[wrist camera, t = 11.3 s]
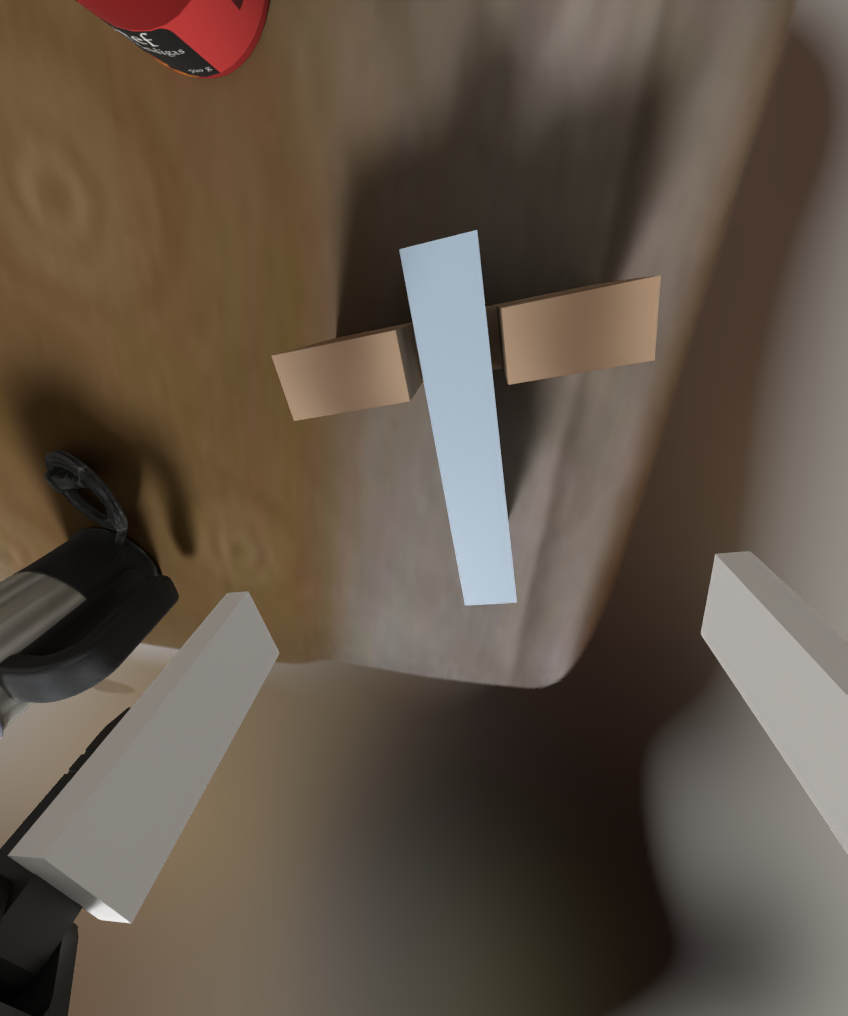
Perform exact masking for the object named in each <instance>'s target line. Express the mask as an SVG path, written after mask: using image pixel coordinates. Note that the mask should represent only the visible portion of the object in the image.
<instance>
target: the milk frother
mask: <svg viewBox="0 0 848 1016" xmlns="http://www.w3.org/2000/svg"><path fill="white" fill-rule="evenodd" d="M45 462H46V468H47V470H48V472H46V473H45V474H44V478H45V480H46V481H47V482H48V483H49V484H50V486H51V487H52V488H53V489H54V490H55V491H56V492H58V493H62V494H63V495H64V496H65V498H66V499H67V500H68V501H69V502H70V503H71V504H72V505H73V506H74V507H75V508H76V509H78V510H79V511H80V512H82V513H83V514H84V515H85V516H86V517H88V518H90V519H91V520H92V521H94V522H96V523H97V524H99V525H101V526H103V527H105V528H107V529H110V530H115V531H117V533H115V532H113V531H109V530H106V529H99V528H88V529H83V530H80V531H78V532H76V533H74V534H73V535H72V536H71V537H70V539H69V540H68V541H67V542H65V543H64V544H62V545H61V546H59V547H57V548H56V549H54V550H53V551H51V552H50V553H48V554H46V555H45V556H43V557H42V558H40V559H38V560H37V561H35V562H34V563H32V564H30V565H29V566H27V567H26V568H24V569H22V570H20V571H19V572H17V573H15V574H13V575H12V576H10V577H9V578H7V579H5V580H3V581H2V582H0V739H1V738H2V736H3V730H4V729H5V728H6V727H7V726H8V725H10V724H11V723H12V722H13V721H14V720H15V719H16V718H18V717H19V716H20V715H21V714H22V713H23V712H24V711H25V710H26V709H27V708H29V707H30V706H31V705H32V704H33V703H48V702H54V701H59V700H62V699H66V698H69V697H72V696H75V695H77V694H79V693H82V692H83V691H85V690H87V689H89V688H91V687H93V686H95V685H96V684H98V683H99V682H101V681H102V680H104V679H105V678H106V677H108V676H109V675H110V674H111V673H112V672H114V671H115V670H116V669H117V668H118V667H119V666H120V665H121V664H122V662H123V661H124V660H125V659H126V658H127V657H128V656H129V655H130V654H131V652H132V651H133V650H134V649H135V648H136V647H137V646H138V645H139V644H140V643H141V642H142V640H143V639H144V638H145V637H146V636H147V635H148V634H149V633H150V632H151V631H152V629H153V628H154V627H155V626H156V625H157V624H158V622H159V621H160V620H161V619H162V618H163V617H164V616H165V615H166V613H167V612H168V611H169V610H170V609H171V608H172V607H173V605H174V604H175V603H176V602H177V601H178V598H179V595H178V592H177V590H176V588H175V586H174V584H173V582H172V580H171V579H170V578H169V577H168V576H163V575H159V573H158V570H157V568H156V566H155V564H154V563H153V561H152V560H151V558H150V557H149V556H148V555H147V554H146V553H145V552H144V551H143V550H142V549H141V548H140V547H139V546H137V545H136V544H135V543H134V542H132V541H131V540H129V539H128V538H126V535H127V529H128V522H127V518H126V516H125V513H124V511H123V509H122V506H121V505H120V503H119V501H118V500H117V498H116V497H115V495H114V494H113V493H112V491H111V490H110V489H109V488H108V487H107V486H106V484H105V483H104V482H103V481H102V480H101V479H100V478H99V477H98V475H97V474H96V473H95V472H94V471H93V470H91V469H90V468H89V467H88V466H87V465H86V464H85V463H83V462H82V461H81V460H80V459H78V458H77V457H75V456H74V455H72V454H70V453H68V452H66V451H64V450H55V451H53V452H49V453H48V454H47V455H46V458H45ZM87 487H89V488H90V489H91V490H92V491H93V493H94V494H95V495H96V496H97V498H99V500H100V501H101V502H102V503H103V504H104V506H105V507H106V512H107V514H108V516H107V515H105V514H103V513H102V512H100V511H98V510H97V509H95V508H94V507H93V506H92V505H90V504H89V503H88V502H87V501H85V500H84V499H83V498H82V497H81V496H80V495H79V494H78V493H77V492H76V490H75V489H80V488H87Z"/></svg>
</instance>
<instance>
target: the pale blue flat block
mask: <svg viewBox="0 0 848 1016" xmlns="http://www.w3.org/2000/svg"><path fill="white" fill-rule="evenodd" d="M399 251H400V256H401V262H402V267H403V273H404V278H405V283H406V289H407V294H408V300H409V305H410V310H411V316H412V321H413V327H414V332H415V337H416V343H417V348H418V354H419V359H420V364H421V370H422V375H423V381H424V386H425V392H426V397H427V402H428V408H429V413H430V419H431V424H432V429H433V435H434V440H435V446H436V451H437V456H438V462H439V467H440V473H441V478H442V483H443V489H444V494H445V500H446V505H447V510H448V516H449V521H450V527H451V532H452V537H453V543H454V548H455V554H456V559H457V564H458V570H459V575H460V581H461V586H462V592H463V597H464V602H465V606H466V605H482V604H499V603H515V602H517V599H516V590H515V581H514V571H513V562H512V552H511V543H510V534H509V524H508V515H507V506H506V496H505V487H504V477H503V468H502V459H501V449H500V440H499V430H498V421H497V412H496V402H495V393H494V383H493V374H492V365H491V355H490V346H489V336H488V327H487V318H486V308H485V299H484V289H483V280H482V271H481V261H480V252H479V243H478V233H477V230H474V231H470V232H466V233H462V234H458V235H454V236H450V237H446V238H442V239H438V240H434V241H430V242H426V243H422V244H418V245H414V246H410V247H406V248H402V249H399Z"/></svg>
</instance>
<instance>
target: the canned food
mask: <svg viewBox="0 0 848 1016" xmlns="http://www.w3.org/2000/svg"><path fill="white" fill-rule="evenodd" d="M76 1H77V2H78V3H80V4H81V5H83V6H84V7H85V8H87V9H88V10H89V11H91V12H92V13H93V14H95V15H96V16H98V17H99V18H100V19H102V20H103V21H104V22H106V23H107V24H108V25H110V26H111V27H112V28H114V29H115V30H117V31H118V32H119V33H121V34H122V35H123V36H125V37H126V38H127V39H129V40H130V41H132V42H133V43H134V44H136V45H137V46H138V47H140V48H141V49H142V50H144V51H145V52H147V53H148V54H149V55H151V56H152V57H153V58H155V59H156V60H157V61H159V62H160V63H162V64H163V65H165V66H166V67H168V68H170V69H172V70H174V71H175V72H177V73H180V74H184V75H187V76H191V77H196V78H218V77H222V76H225V75H228V74H230V73H231V72H233V71H234V70H236V69H237V68H239V67H240V66H241V65H242V64H243V63H244V62H245V61H246V60H247V59H248V57H249V56H250V55H251V53H252V52H253V50H254V48H255V46H256V45H257V43H258V41H259V39H260V36H261V33H262V30H263V28H264V25H265V21H266V16H267V11H268V6H269V0H76Z"/></svg>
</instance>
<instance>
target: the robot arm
mask: <svg viewBox="0 0 848 1016" xmlns="http://www.w3.org/2000/svg"><path fill="white" fill-rule="evenodd" d="M701 635H702V637H703V638H704V640H705V641H706V643H707V644H708V646H709V647H710V649H711V650H712V652H713V653H714V655H715V656H716V658H717V659H718V661H719V662H720V664H721V665H722V667H723V668H724V670H725V671H726V672H727V674H728V676H729V677H730V679H731V680H732V681H733V683H734V685H735V686H736V687H737V689H738V690H739V692H740V693H741V695H742V697H743V698H744V700H745V701H746V703H747V704H748V706H749V707H750V709H751V710H752V712H753V713H754V715H755V716H756V718H757V719H758V721H759V722H760V724H761V725H762V727H763V728H764V730H765V731H766V733H767V734H768V736H769V737H770V739H771V740H772V742H773V743H774V745H775V746H776V748H777V749H778V751H779V752H780V754H781V755H782V757H783V758H784V760H785V761H786V763H787V764H788V766H789V767H790V768H791V770H792V772H793V773H794V775H795V776H796V778H797V779H798V781H799V782H800V784H801V785H802V786H803V788H804V790H805V791H806V793H807V794H808V796H809V797H810V798H811V800H812V801H813V803H814V805H815V806H816V807H817V809H818V810H819V812H820V813H821V815H822V817H823V818H824V819H825V821H826V823H827V824H828V826H829V827H830V829H831V830H832V832H833V833H834V834H835V836H836V837H837V839H838V841H839V842H840V844H841V845H842V847H843V848H844V850H845V851H846V853H847V854H848V641H846V640H845V639H844V638H843V637H842V636H841V635H840V634H839V633H838V632H837V631H836V630H835V629H834V628H832V627H831V626H830V625H829V624H828V623H827V622H826V621H825V620H824V619H823V618H822V617H820V615H818V614H817V613H816V612H815V611H814V610H813V609H812V608H811V607H810V606H809V605H808V604H807V603H806V602H804V601H803V600H802V599H801V598H800V597H799V596H798V595H797V594H796V593H795V592H794V591H793V590H791V589H790V588H789V587H788V586H787V585H786V584H785V583H784V582H783V581H782V580H781V579H780V578H778V577H777V576H776V575H775V574H774V573H773V572H772V571H771V570H770V569H769V568H768V567H767V566H766V565H764V564H763V563H762V562H761V561H760V560H759V559H758V558H757V557H756V556H755V555H754V554H753V553H751V552H750V551H748V552H736V553H735V552H734V553H722V554H716V555H715V559H714V564H713V570H712V575H711V581H710V586H709V592H708V598H707V603H706V608H705V613H704V619H703V625H702V630H701ZM278 655H279V651H278V649H277V647H276V645H275V643H274V641H273V639H272V637H271V635H270V633H269V631H268V629H267V627H266V625H265V623H264V621H263V619H262V617H261V615H260V614H259V612H258V610H257V608H256V606H255V604H254V602H253V600H252V598H251V596H250V594H249V592H235V593H227V594H226V595H225V596H224V597H223V598H222V600H221V601H220V602H219V603H218V604H217V606H216V607H215V608H214V609H213V610H212V612H211V613H210V614H209V615H208V616H207V618H206V619H205V620H204V621H203V622H202V624H201V625H200V626H199V627H198V628H197V629H196V631H195V632H194V633H193V634H192V635H191V637H190V638H189V639H188V640H187V641H186V643H185V644H184V645H183V646H182V647H181V649H180V650H179V651H178V652H177V654H176V655H175V656H174V657H173V658H172V659H171V661H170V662H169V663H168V664H167V665H166V667H165V668H164V669H163V670H162V671H161V673H160V674H159V675H158V676H157V678H156V679H155V680H154V681H153V683H151V685H150V686H149V687H148V688H147V689H146V691H145V692H144V693H143V694H142V695H141V697H140V698H139V699H138V700H137V701H136V702H135V704H134V705H133V706H132V707H131V708H127V709H126V710H125V711H124V712H122V713H121V714H120V715H119V716H118V717H117V718H115V719H114V720H113V721H112V722H110V723H109V724H108V725H107V726H106V727H105V728H104V729H103V730H102V731H101V732H100V733H99V735H98V736H97V737H96V738H95V739H94V740H93V742H92V743H91V744H90V745H89V746H88V748H87V749H86V752H85V754H83V755H81V756H80V757H79V758H78V759H77V761H75V763H74V764H73V765H72V766H71V767H70V768H69V772H68V774H64V775H63V777H62V778H61V779H60V780H59V781H58V782H57V784H56V785H55V786H54V787H53V788H52V789H51V791H50V792H49V793H48V794H47V795H46V796H45V797H44V799H43V800H42V801H41V802H40V803H39V804H38V806H37V807H36V808H35V809H34V810H33V811H32V813H31V814H30V815H29V816H28V817H27V818H26V820H25V821H24V822H23V823H22V824H21V826H20V827H19V828H18V829H17V830H16V831H15V833H14V834H13V835H12V836H11V837H10V838H9V839H8V841H7V842H6V843H5V844H4V845H3V847H2V848H1V849H0V1016H68V1010H69V1003H70V995H71V988H72V980H73V973H74V965H75V959H76V951H77V944H78V926H77V925H76V924H75V923H74V922H73V921H74V920H75V918H76V917H77V915H78V914H79V912H80V910H81V909H82V908H84V909H85V910H86V911H88V912H89V913H91V914H92V915H94V916H95V917H96V918H98V919H99V920H107V921H115V922H124V923H132V921H133V920H134V918H135V916H136V914H137V912H138V910H139V909H140V907H141V905H142V903H143V901H144V899H145V898H146V896H147V894H148V892H149V890H150V889H151V887H152V885H153V883H154V881H155V880H156V878H157V876H158V874H159V872H160V870H161V869H162V867H163V865H164V863H165V861H166V859H167V858H168V856H169V854H170V852H171V850H172V849H173V847H174V845H175V843H176V841H177V839H178V837H179V836H180V834H181V832H182V830H183V828H184V827H185V825H186V823H187V821H188V819H189V817H190V816H191V814H192V812H193V810H194V808H195V807H196V805H197V803H198V801H199V799H200V797H201V796H202V794H203V792H204V790H205V788H206V786H207V785H208V783H209V781H210V779H211V777H212V776H213V774H214V772H215V770H216V768H217V766H218V764H219V763H220V761H221V759H222V757H223V755H224V754H225V752H226V750H227V748H228V746H229V745H230V743H231V741H232V739H233V737H234V735H235V734H236V732H237V730H238V728H239V726H240V724H241V722H242V721H243V719H244V717H245V715H246V714H247V712H248V710H249V708H250V706H251V704H252V703H253V701H254V699H255V697H256V695H257V693H258V692H259V690H260V688H261V686H262V684H263V682H264V681H265V679H266V677H267V675H268V673H269V671H270V670H271V668H272V666H273V664H274V662H275V661H276V659H277V657H278Z"/></svg>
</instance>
